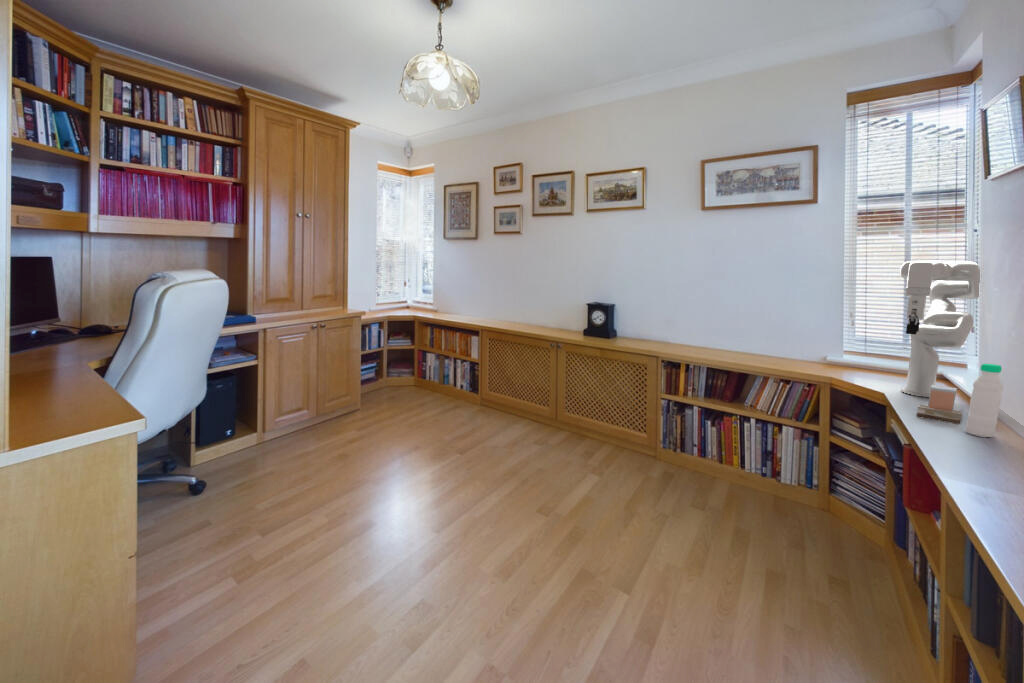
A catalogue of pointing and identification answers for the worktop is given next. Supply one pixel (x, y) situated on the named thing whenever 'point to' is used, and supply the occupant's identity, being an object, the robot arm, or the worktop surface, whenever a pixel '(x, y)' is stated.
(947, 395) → the tea carton
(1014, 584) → the worktop surface
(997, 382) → the milk bottle
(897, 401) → the worktop surface
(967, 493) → the worktop surface
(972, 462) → the worktop surface
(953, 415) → the shelf board
